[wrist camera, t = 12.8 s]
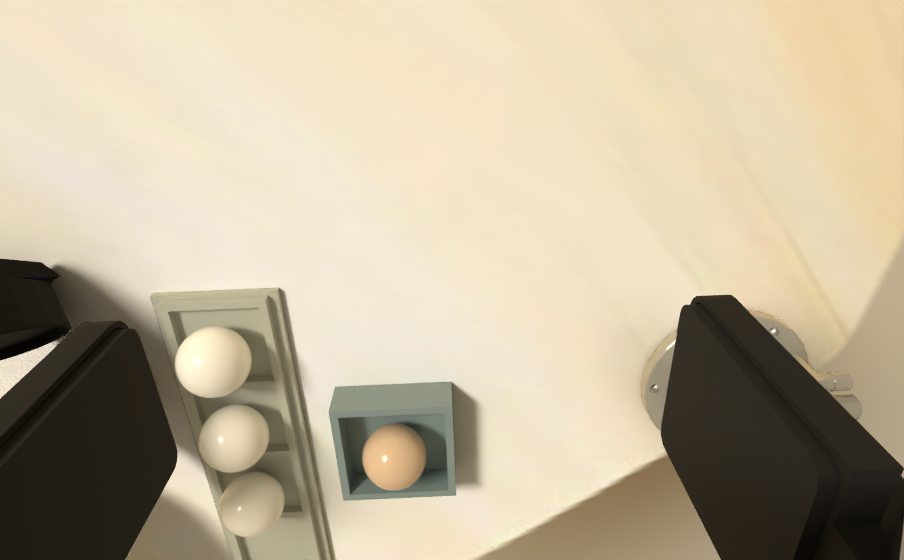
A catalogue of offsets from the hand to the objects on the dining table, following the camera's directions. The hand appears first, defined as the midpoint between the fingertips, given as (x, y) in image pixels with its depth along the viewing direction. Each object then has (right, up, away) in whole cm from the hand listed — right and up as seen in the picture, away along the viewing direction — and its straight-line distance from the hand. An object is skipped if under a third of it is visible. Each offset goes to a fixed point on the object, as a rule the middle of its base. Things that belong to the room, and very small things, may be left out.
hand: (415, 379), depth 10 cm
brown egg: (-4, -11, +36) cm, 38 cm away
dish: (-4, -11, +37) cm, 39 cm away
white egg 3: (-16, -15, +38) cm, 44 cm away
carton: (-16, -12, +37) cm, 42 cm away
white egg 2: (-16, -9, +35) cm, 40 cm away
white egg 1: (-16, -3, +32) cm, 36 cm away
